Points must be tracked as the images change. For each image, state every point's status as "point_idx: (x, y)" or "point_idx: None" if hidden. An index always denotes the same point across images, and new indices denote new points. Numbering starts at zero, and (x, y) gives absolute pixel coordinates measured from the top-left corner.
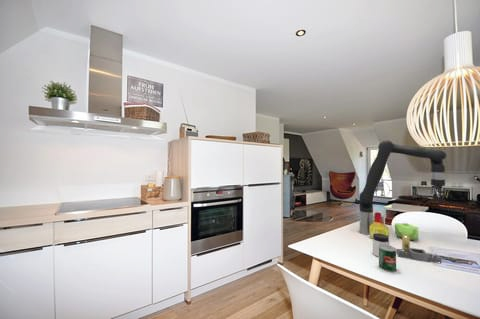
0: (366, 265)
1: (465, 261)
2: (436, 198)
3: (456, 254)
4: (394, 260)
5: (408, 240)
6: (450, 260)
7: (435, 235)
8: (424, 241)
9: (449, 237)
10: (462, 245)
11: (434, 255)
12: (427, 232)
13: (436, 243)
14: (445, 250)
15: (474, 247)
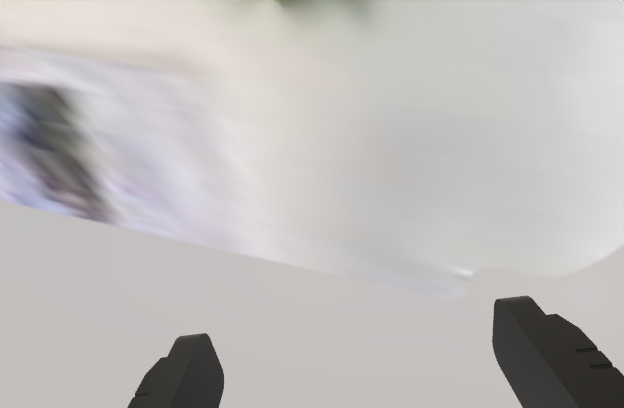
0: None
1: (71, 187)
2: (521, 392)
3: (150, 174)
4: None
5: None
6: (27, 128)
7: (482, 139)
8: (293, 47)
9: (467, 206)
10: (332, 232)
11: None
12: (545, 101)
13: (291, 114)
14: (181, 137)
15: (328, 270)
